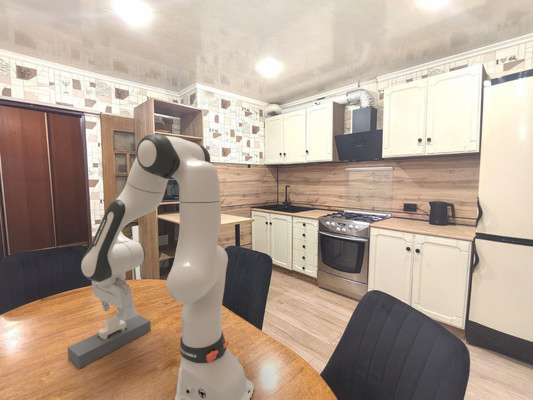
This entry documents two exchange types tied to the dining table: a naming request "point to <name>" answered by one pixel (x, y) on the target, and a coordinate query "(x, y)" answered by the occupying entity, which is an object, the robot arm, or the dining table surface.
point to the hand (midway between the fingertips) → (113, 313)
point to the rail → (107, 342)
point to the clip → (111, 327)
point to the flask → (129, 312)
